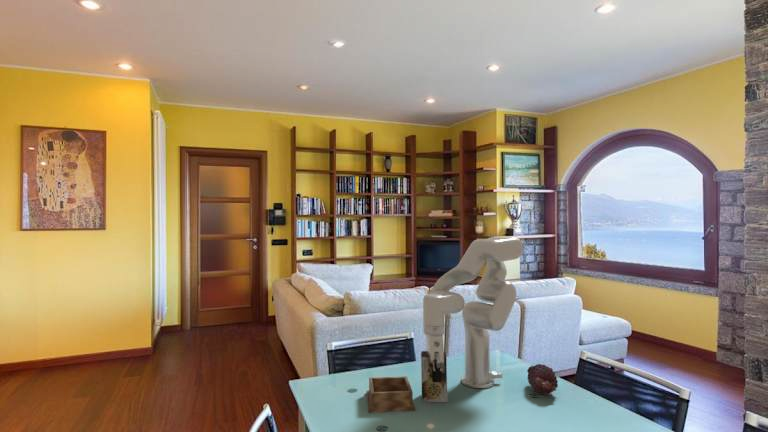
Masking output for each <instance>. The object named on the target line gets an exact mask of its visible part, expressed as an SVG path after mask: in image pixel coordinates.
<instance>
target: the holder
mask: <svg viewBox="0 0 768 432" xmlns="http://www.w3.org/2000/svg"><path fill="white" fill-rule="evenodd" d="M365 395H366V402H367V403H366V404H367V412H368V414H374V413H375V414H376V413H398V412H400V413H402V412H416V411H417V407H416V405H415V404H416V403H415V401H414V399H413V398H414V397H413V395H414V392H413V389H412V387H411V384H410V381H409V378H408V376H383V377H382V376H381V377H368V390H367V389H366V394H365Z"/></svg>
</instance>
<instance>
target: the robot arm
mask: <svg viewBox="0 0 768 432" xmlns="http://www.w3.org/2000/svg"><path fill="white" fill-rule="evenodd" d="M524 249H525V248H524V244H523V242H522V240H520V238H516V237H503V236H502V237H501V236H492V237H488V238H482V239H481V238H478V239H475V240H473V241H472V242H471V243H470V245H469V246H468V248H467V249H466V251H465V253H463V254H464V255H463V256H462V257H461V259H460V260H459V263H458V264H457V265H456V266H455V267H454V268H453V267H452V269H449V271H447V272H445V273H444V274H443V275H442V276H440V278H438V279H437V280H436V282H435V283H434V285H433V286H432V288H431V290H430V291H429V293H427V294H425V295H423V298H422V299H423V300H422V308H423V309H422V314H423V317H422V318H423V319H422V322H423V323H422V324H423V325H422V327H423V328H422V329H423V332H422V333H423V334H424V335H425V351H426V352H427V354H428V356H429V359H430V363H431V364H432V366H433V370H432V382H441V381H442V371H441V363H444V352H445V351H444V339H443V335H445V315H446V314H458V313H460V312H461V311H462V314H461V315H462V316H461V317H462V321H463V327H464V375H462V376H461V380H460V381H461V382H460V383H462V384H463V385H465V386H467V387H468V388H474V389H488V388H491V387H493V386H494V385H495V379H503V373H502V372H497V371H496V370H495V371H491V367H490V366H491V365H490V364H491V363H490V362H491V359H490V357H491V355H490V353H491V352H490V350H491V349H490V348H491V347H490V346H491V345H490V342H491V338H490V333H489V331H491V332H492V331H493V332H500V331H501V330H502V329H503V328H504V327H505V325H506V323H507V321H508V319H509V316H510V315H511V312H512V309H513V308H514V306H515V302H516V299H517V288H516V287H515V285H514V284H513V283H512V282H510V281H508V280H505V279H506V278H507V273H508V270H507V266H506V264H505V262H508V261H512V260H517V259H519V258H520V257H521V256H522V255H523V252H524ZM485 264H486V267H485V270H484V273H483V274H482V276H481V279H480V281H479V283H478V285H477V287H476V290H475V291H476V292H475V294H476V295H475V296H476V297H477V299H478V300H479V301H473V300H472V301H468V302H466V303H465V299H464V297H463V296H462V294H460V293H457V292H454V291H451V290H452V289H454V288H455V287H457V286H460V285H463V284H465V283H469V282H471V281H474V280H475V279H477V277H478V276H479V274H480V272H481V270H483V269H482V268H483V267H484V266H485ZM488 330H489V331H488ZM433 360H436V361H435V362H434V361H433ZM434 364H436V365H434Z"/></svg>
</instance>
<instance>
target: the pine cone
mask: <svg viewBox="0 0 768 432" xmlns="http://www.w3.org/2000/svg"><path fill="white" fill-rule="evenodd" d="M527 373H528V374H527V382H528V384H529V385H530V388H531V389H532V390H533V391H534V392H536V393H538V394H542V395H545V396H548V395H550V394H552V393H553V392H554V391H555V392H556V391H557V388H558V385H559V384H558V379H557V378H558V377H557V376H556V373H555V371H554V370H553V368H552V367H549V366H547V365H545V364H541V363H538V364H535V365H531V366H529V367H528V369H527Z"/></svg>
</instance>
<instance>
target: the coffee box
mask: <svg viewBox="0 0 768 432" xmlns="http://www.w3.org/2000/svg"><path fill="white" fill-rule="evenodd" d="M420 361H421V362H420V363H421V368H420V369H421V370H420V371H421V374H420V375H421V376H420V377H421V402H422V403H448V380H447V379H448V377H447V375H448V373H447V352H446V351H444V363H441V371H442V381H441V382H432V370H433V366H432V364H431V363H430V359H429V356H428V354H427V352H426V350H424V351H423V350H422V351H421V353H420ZM433 361H434V362H435V361H436V360H433ZM434 365H436V364H434Z"/></svg>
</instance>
